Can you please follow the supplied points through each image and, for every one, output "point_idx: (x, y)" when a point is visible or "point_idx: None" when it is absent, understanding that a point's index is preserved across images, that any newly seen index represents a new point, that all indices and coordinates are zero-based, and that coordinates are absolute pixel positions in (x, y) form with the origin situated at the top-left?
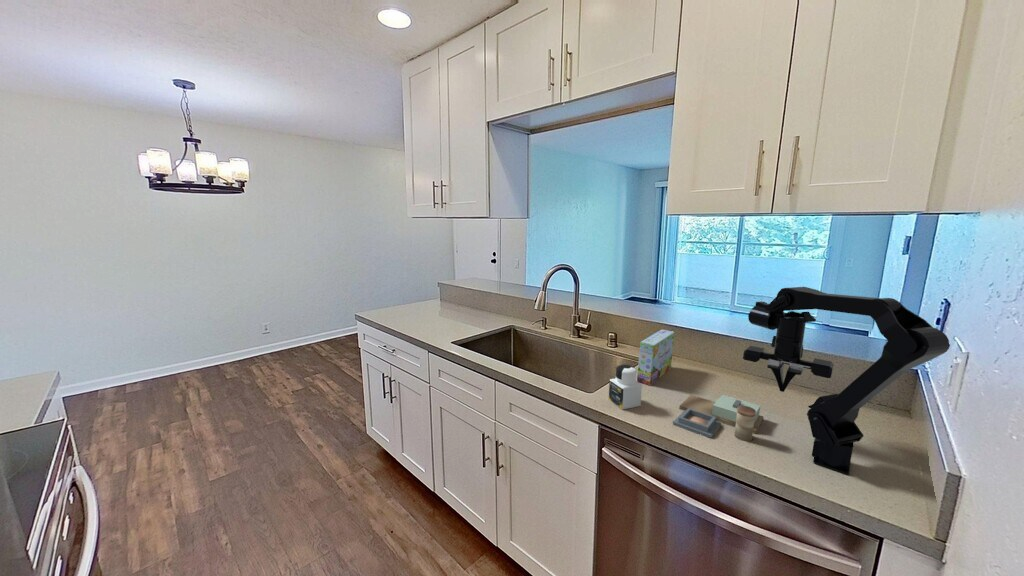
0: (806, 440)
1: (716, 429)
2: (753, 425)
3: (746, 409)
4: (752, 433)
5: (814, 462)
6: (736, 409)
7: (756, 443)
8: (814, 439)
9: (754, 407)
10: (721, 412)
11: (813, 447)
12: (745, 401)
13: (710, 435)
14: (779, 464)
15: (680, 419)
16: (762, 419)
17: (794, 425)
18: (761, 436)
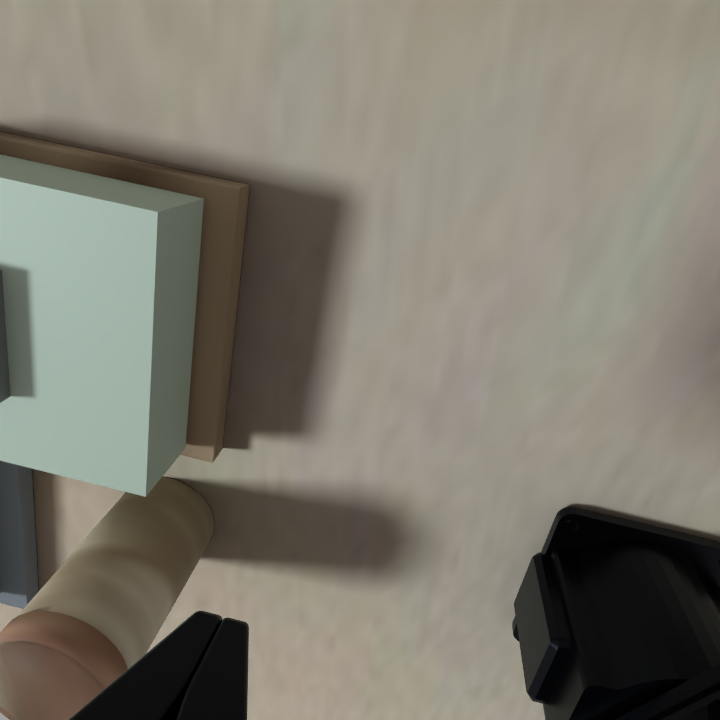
0: (534, 379)
1: (25, 529)
2: (167, 613)
3: (44, 696)
4: (194, 563)
5: (517, 635)
6: (11, 417)
7: (240, 551)
8: (537, 672)
9: (118, 295)
10: None
11: (522, 656)
12: (19, 182)
13: (23, 607)
14: (350, 685)
15: None
16: (240, 224)
17: (490, 148)
18: (258, 462)
